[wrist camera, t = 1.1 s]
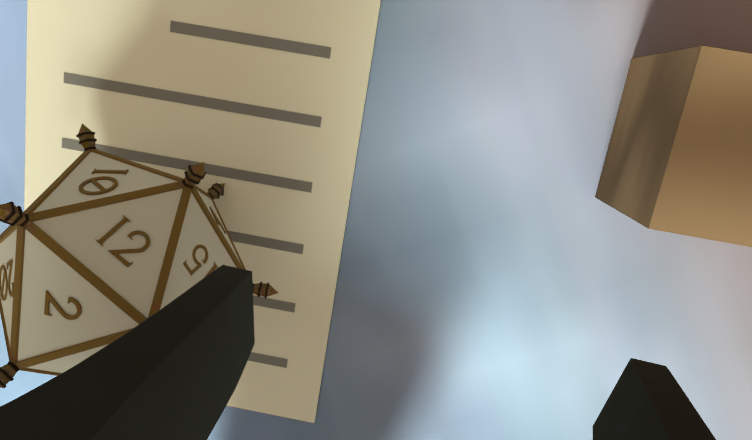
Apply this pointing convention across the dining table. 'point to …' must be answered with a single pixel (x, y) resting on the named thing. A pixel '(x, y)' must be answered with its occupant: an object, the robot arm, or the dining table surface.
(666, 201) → the walnut block
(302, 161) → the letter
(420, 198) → the dining table surface
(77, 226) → the game die
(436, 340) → the dining table surface
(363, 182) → the dining table surface
